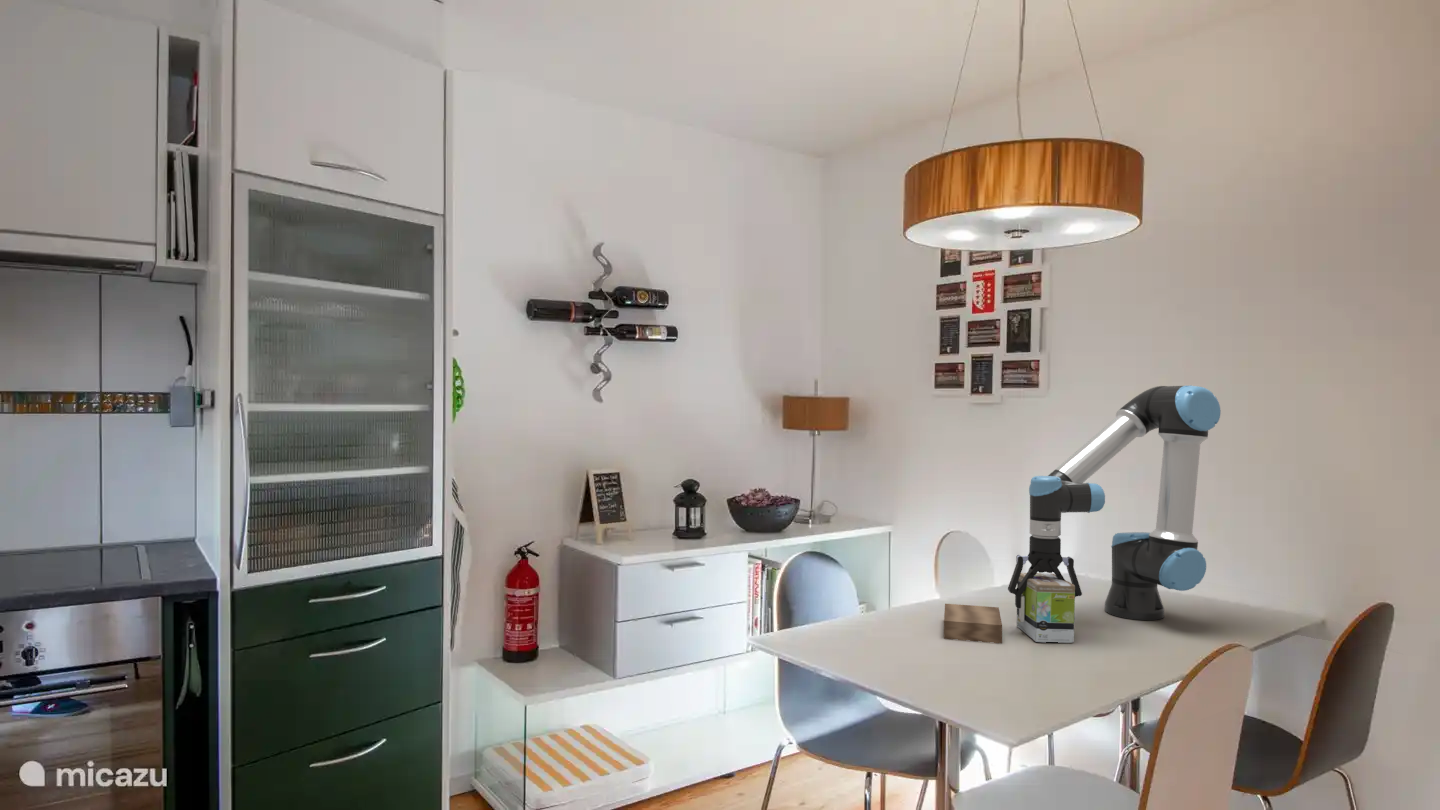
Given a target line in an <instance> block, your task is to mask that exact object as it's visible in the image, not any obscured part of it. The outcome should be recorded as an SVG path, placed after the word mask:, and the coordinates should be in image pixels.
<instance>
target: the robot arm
mask: <svg viewBox="0 0 1440 810" xmlns="http://www.w3.org/2000/svg"><path fill="white" fill-rule="evenodd" d="M1221 414H1222V413H1221V405H1220V402H1219V400H1218V398H1217V397H1216V396H1215V395H1214V393H1213V392H1212V391H1211V390H1210V389H1208V388H1206V387H1203V386H1199V385H1192V384H1191V385H1160V386H1154V387H1151V388H1149V389H1146V390H1144V391H1143V392H1141V393H1139V394H1138V395H1136V396H1135V397H1133V398H1132V399H1131V400H1129V401H1128V402H1127V403H1126V404H1124V405H1123V406H1122V407H1120V409H1118V410H1117V411H1116V412H1115V418H1114V419H1113V420H1111V421H1110V422H1109V423H1108V424H1107V425H1105V426H1104V427H1103V428H1102V429H1101V430H1099V432H1097V433H1096V434H1095V435H1094V436H1092V437H1091V438H1090V439H1089V440H1088V441H1086V443H1084V444H1083V445H1082V446H1081V447H1080V448H1078V449H1077V450H1076V451H1075V452H1074V453H1073V454H1071V456H1070V457H1068V458H1067V459H1065V460H1064V462H1062V463H1061V464H1060V465H1058V466H1057V467H1056V468H1055V469H1054V470H1053V471H1052V472H1050V473H1049V474H1048V475H1034V476H1033V477H1031V479H1030V484H1029V488H1028V492H1029V534H1030V537H1029V545H1028V546H1029V551H1028V554H1027V555H1020V554H1017V555H1016V558H1015V560H1016V564H1015V566H1014V569H1013V573H1012V575H1011V579H1010V582H1009V584H1008V587H1007V590H1008V592H1009V593H1010V594H1013V595H1014V597H1015V600H1014V601H1015V603H1014V605H1015V607H1016V609H1017V608H1019V619H1020V621H1021V622H1024V600H1025V597H1024V596H1023V594H1022V593H1023V592H1024V590H1025V589H1026V587H1027V580H1028V579H1032V578H1033V577H1034V575H1036V573H1051V574H1055V575H1056V577H1057V578H1058V579H1059V580H1066V579H1065V578H1064V576H1063V575H1062V572H1061V571H1060V569H1059V566H1060V565H1061V564H1062V563H1063V565H1064V566H1065V567H1066V569H1067V573H1068V577H1069V579H1070V583H1072V584H1073V585H1075V598H1077V597H1081V596H1082V595H1083V592H1082V590H1081V589H1082V588H1081V586H1080V583H1079V579H1078V577H1077V574H1076V570H1075V567H1074V566H1075V565H1074V563H1075V559H1074V558H1073V557H1071V556H1067V557H1066V556H1065V557H1064V556H1062V552H1061V548H1062V547H1061V546H1062V545H1061V544H1062V542H1061V540H1062V539H1061V538H1060V536H1061V533H1062V532H1061V531H1062V523H1061V522H1062V521H1061V520H1062V514H1064V513H1065V514H1066V513H1088V514H1090V513H1095V512H1100V511H1102V510H1103V508H1104V506H1105V503H1106V493H1105V491H1104V489H1103V487H1102V486H1101V485H1100V484H1097V483H1095V482H1094V483H1092V482H1086V481H1087V480H1088V479H1089V478H1091V476H1093V475H1094V474H1095V473H1096V472H1098V470H1100V469H1101V468H1103V466H1104V465H1106V464H1107V463H1108V462H1109V461H1111V459H1113V458H1114V457H1115V456H1116V455H1117V454H1119V453H1120V452H1121V451H1122V450H1123V449H1125V448H1126V447H1127V446H1128V445H1129V444H1131V442H1132V441H1134V440H1135V439H1136V438H1142V437H1144V436H1145V435H1146V434H1148V433H1149V432H1152V431H1155V430H1156V429H1158V433H1157V434H1158V435H1159V437H1160V438H1161V439H1162V440H1163V450H1162V459H1161V460H1162V461H1161V468H1160V482H1159V489H1158V491H1159V493H1158V502H1157V513H1156V523H1155V524H1156V525H1155V529H1154V530H1152V531H1150V532H1143V531H1142V532H1136V531H1134V532H1133V531H1132V532H1117V533H1115V534H1114V535H1112V542H1111V545H1110V547H1111V586H1110V589H1109V591H1108V594H1107V595H1106V599H1105V601H1104V611H1105V612H1106V613H1107V612H1108V613H1107V614H1109V615H1111V614H1112V616H1114V615H1115V617H1119V618H1124V619H1129V620H1136V621H1137V620H1138V621H1139V620H1141V621H1155V620H1157V621H1158V620H1161V619H1163V618H1165V608H1164V604H1163V602H1162V599H1161V596H1160V592H1159V589H1158V586H1161V587H1164V588H1166V589H1168V590H1175V591H1181V592H1182V591H1183V592H1185V591H1190V590H1192V589H1194V588H1195V587H1196V586H1197V585H1199V584H1200V583H1201V582H1202V580H1203V579H1204V578H1205V575H1206V572H1207V560H1206V558H1205V557H1204V555H1203V553H1202V552H1200V550H1198V544H1199V540H1198V539H1197V537H1195V536H1194V534H1193V529H1194V519H1195V518H1194V517H1195V507H1196V496H1197V485H1198V474H1199V465H1200V455H1201V454H1200V450H1201V445H1202V444H1203V442H1205V441H1206V440H1207V439H1208V438H1209V437H1208V436H1209V431H1210V430H1211V429H1214V427H1216V424H1218V423H1219V421H1220V418H1221ZM1085 482H1086V483H1085ZM1027 561H1028V562H1029V563H1030V566H1029V568H1028V570H1027V572H1026V573H1027V574H1026V575H1025V577H1024V578H1023V580H1022V581H1021V583H1020V584H1019V586H1018V587H1017V583H1018V580H1019V577H1020V574H1021V573H1022V572H1023V567H1024V565H1025V564H1026V563H1027Z"/></svg>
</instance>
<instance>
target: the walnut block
mask: <svg viewBox="0 0 1440 810" xmlns="http://www.w3.org/2000/svg"><path fill="white" fill-rule="evenodd" d="M943 639H945V640H953V639H958V640H957V641H966V640H970V641H969V642H978V641H982V642H983V643H990V642H994V643H995V644H1002V643H1003V623H1002V618H1001V612H1000V608H999V607H998V606H985V605H972V604H971V605H969V604H957V603H944V614H943ZM994 643H993V644H994Z"/></svg>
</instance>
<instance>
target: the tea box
mask: <svg viewBox="0 0 1440 810" xmlns="http://www.w3.org/2000/svg"><path fill="white" fill-rule="evenodd" d="M1026 574H1027V572H1021V574H1020V577H1019V580H1018V583H1017V586H1016V588H1017V587H1018V586H1019V584H1020V583H1021V581H1022V580H1023V578H1024V577H1025V575H1026ZM1022 594H1023V596H1024V597H1025V600H1024V622H1021V621H1020V619H1019V608H1017V607H1016V627H1018V629H1020V630H1021V631H1022V632H1024V634H1026V635H1027V636H1028V637H1030V638H1031V640H1032V641H1034V642H1036V643H1046V642H1058V643H1059V644H1069V643H1071V644H1072V643H1074V641H1075V609H1076V608H1075V607H1076V606H1075V605H1076V603H1075V600H1076V597H1075V585H1073V584H1072V582H1071V581H1068V580H1066V579H1065V580H1059V579H1058V578H1057V577H1056V575H1055V574H1054V573H1047V572H1043V573H1039V572H1037V573H1036V575H1034V577H1033V578H1032V579H1028V580H1027V587H1026V589H1025V590H1024V592H1023V593H1022Z"/></svg>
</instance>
